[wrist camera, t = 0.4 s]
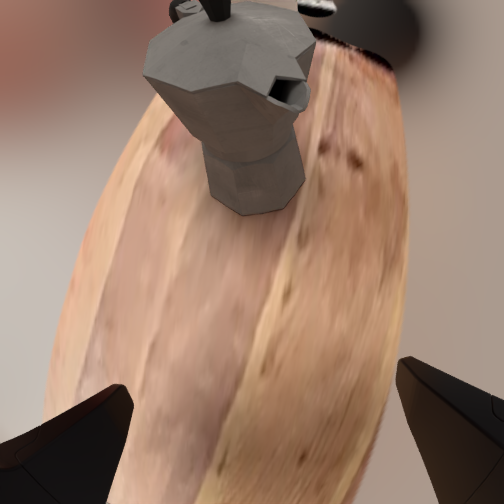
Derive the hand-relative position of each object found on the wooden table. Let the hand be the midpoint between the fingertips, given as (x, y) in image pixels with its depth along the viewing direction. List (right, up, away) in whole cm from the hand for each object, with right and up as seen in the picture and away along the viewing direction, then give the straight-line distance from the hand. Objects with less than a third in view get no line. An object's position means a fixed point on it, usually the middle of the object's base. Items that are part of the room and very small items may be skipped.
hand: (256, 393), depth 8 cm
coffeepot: (0, +13, +19) cm, 22 cm away
